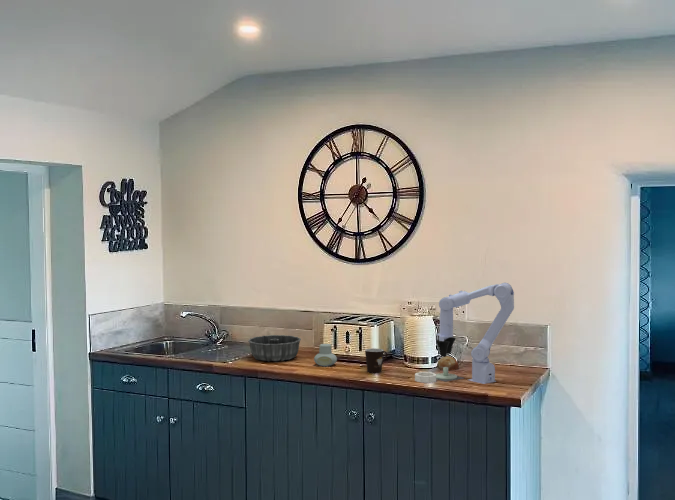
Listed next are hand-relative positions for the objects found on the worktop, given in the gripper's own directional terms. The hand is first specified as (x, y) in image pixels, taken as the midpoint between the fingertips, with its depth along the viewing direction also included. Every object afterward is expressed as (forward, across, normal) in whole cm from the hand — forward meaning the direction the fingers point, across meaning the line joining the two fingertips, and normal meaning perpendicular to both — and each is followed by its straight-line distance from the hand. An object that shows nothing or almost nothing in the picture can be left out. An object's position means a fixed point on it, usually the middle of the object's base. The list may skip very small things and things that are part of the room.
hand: (445, 355), depth 314 cm
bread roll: (+11, -20, -4) cm, 23 cm away
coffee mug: (+11, -1, -32) cm, 34 cm away
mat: (+10, 0, 0) cm, 10 cm away
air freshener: (+12, -4, -60) cm, 62 cm away
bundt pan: (+12, -9, -91) cm, 92 cm away
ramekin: (+11, +9, -6) cm, 15 cm away
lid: (+10, 0, 0) cm, 10 cm away
